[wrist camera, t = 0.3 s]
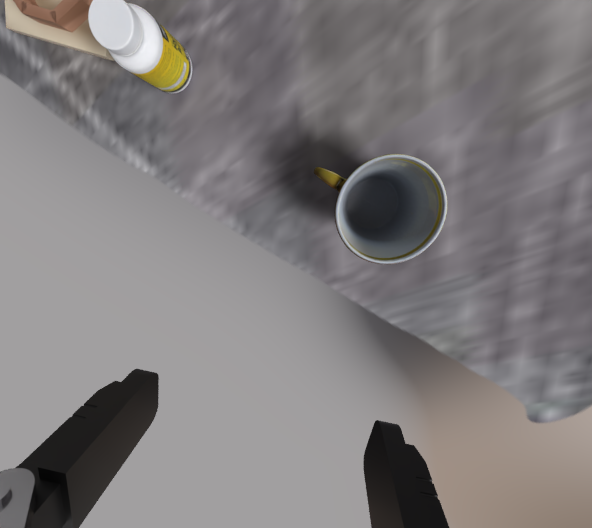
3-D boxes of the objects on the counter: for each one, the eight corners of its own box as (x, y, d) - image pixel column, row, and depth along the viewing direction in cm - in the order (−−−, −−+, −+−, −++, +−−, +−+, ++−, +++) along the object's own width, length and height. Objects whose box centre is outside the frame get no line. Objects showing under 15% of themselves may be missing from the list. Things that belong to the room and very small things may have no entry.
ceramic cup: (429, 187, 33) (472, 190, 24) (382, 255, 36) (404, 282, 27) (337, 132, 33) (343, 113, 23) (297, 207, 36) (288, 217, 26)
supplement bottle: (202, 61, 32) (152, 12, 22) (180, 104, 33) (124, 75, 24) (162, 29, 31) (94, -36, 22) (141, 74, 33) (69, 32, 23)
